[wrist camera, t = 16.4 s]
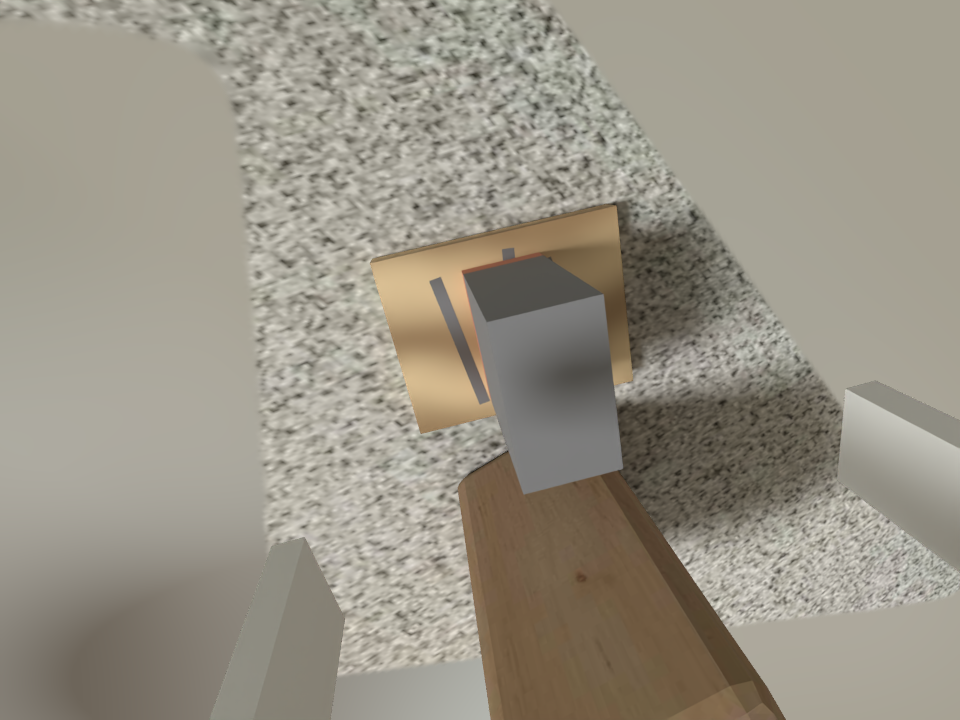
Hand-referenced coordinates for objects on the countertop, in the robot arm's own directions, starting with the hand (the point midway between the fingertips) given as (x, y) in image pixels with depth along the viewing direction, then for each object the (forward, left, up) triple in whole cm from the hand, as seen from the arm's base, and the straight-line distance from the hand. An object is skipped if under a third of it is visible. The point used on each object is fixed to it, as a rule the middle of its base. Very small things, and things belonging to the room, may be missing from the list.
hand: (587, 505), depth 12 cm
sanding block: (+1, +1, -18) cm, 18 cm away
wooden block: (+15, +2, -20) cm, 25 cm away
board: (+1, +1, -19) cm, 19 cm away
